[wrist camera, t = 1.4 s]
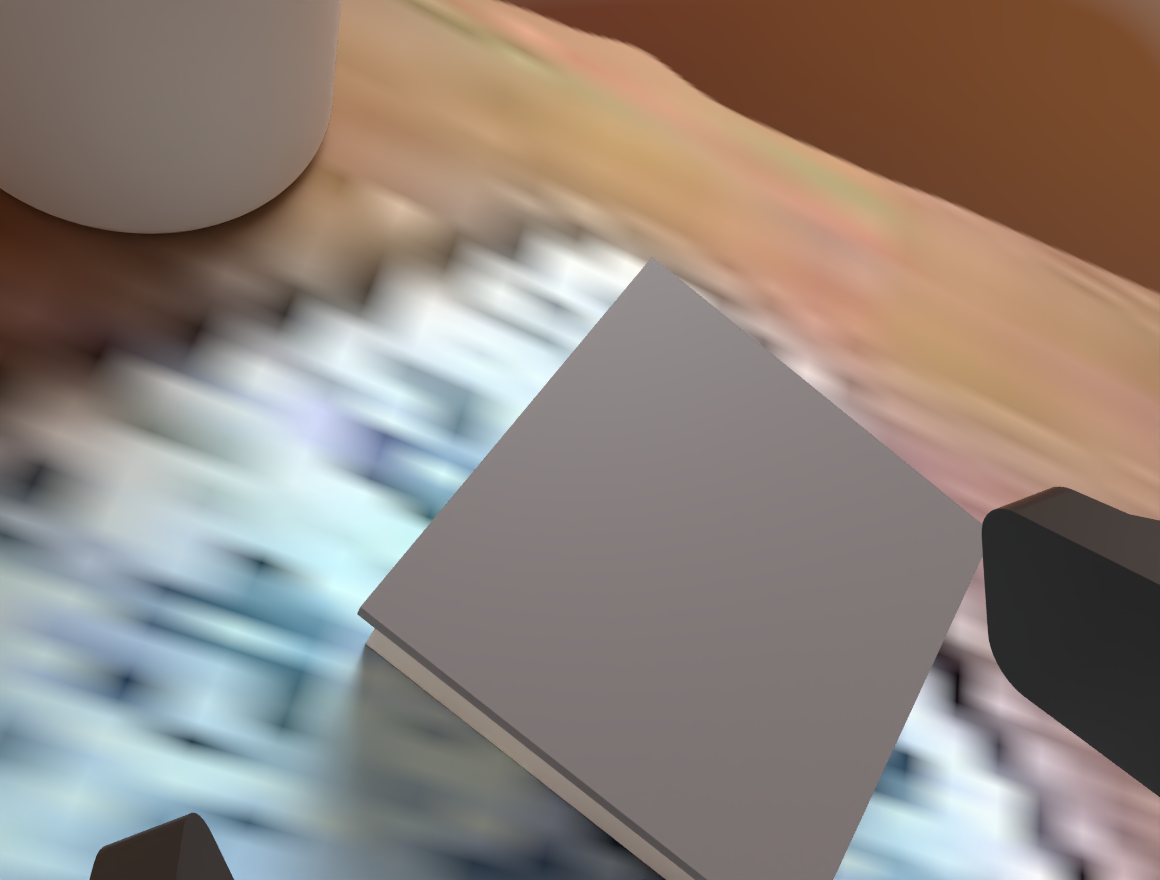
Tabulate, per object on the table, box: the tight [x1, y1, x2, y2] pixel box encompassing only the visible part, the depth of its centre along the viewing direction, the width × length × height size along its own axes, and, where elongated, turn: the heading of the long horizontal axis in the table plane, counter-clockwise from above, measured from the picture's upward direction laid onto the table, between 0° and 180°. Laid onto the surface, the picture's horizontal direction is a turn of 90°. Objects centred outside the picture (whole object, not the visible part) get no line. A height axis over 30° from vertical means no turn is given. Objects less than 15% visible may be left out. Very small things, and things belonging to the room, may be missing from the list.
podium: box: [357, 257, 983, 880], centre depth 27 cm, size 13×13×7 cm
